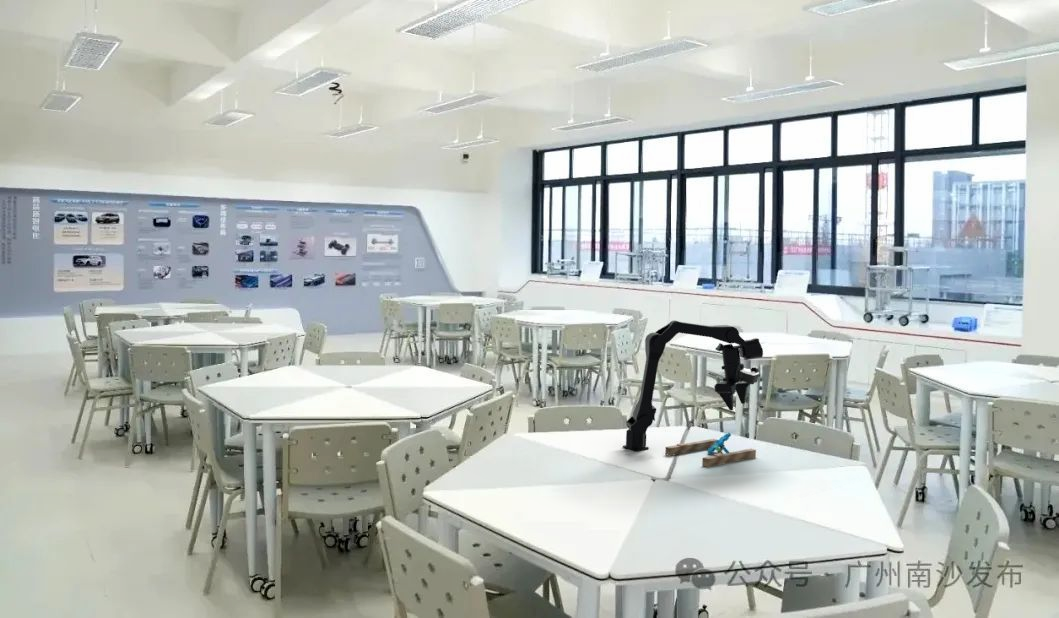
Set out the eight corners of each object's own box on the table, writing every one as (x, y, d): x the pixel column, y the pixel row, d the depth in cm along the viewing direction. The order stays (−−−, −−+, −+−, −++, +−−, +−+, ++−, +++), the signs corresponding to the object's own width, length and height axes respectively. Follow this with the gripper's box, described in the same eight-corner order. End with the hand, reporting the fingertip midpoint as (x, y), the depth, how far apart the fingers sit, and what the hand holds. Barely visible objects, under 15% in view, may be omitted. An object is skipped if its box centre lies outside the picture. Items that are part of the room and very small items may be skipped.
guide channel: (707, 467, 252) (707, 458, 251) (665, 454, 266) (665, 446, 266) (755, 457, 266) (756, 448, 266) (713, 445, 280) (713, 437, 280)
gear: (709, 444, 275) (730, 427, 271) (721, 457, 274) (743, 440, 270) (702, 455, 265) (724, 438, 261) (715, 469, 264) (737, 451, 260)
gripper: (742, 367, 261) (747, 414, 262) (765, 356, 275) (770, 400, 276) (711, 367, 268) (716, 413, 269) (735, 356, 282) (740, 400, 283)
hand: (737, 406), depth 274 cm, fingers open, 9 cm apart
